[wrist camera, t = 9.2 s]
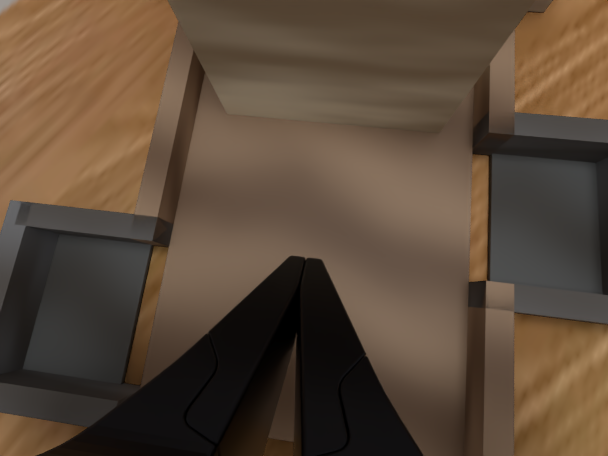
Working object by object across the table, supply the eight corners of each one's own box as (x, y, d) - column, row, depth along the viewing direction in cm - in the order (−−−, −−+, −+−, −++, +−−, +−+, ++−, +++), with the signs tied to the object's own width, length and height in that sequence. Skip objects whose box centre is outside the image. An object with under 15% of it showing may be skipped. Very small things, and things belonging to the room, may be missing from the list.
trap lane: (636, 491, 12) (918, 668, 7) (-2, 389, 14) (-225, 453, 9) (600, -88, 18) (738, -279, 12) (137, -104, 20) (59, -274, 14)
